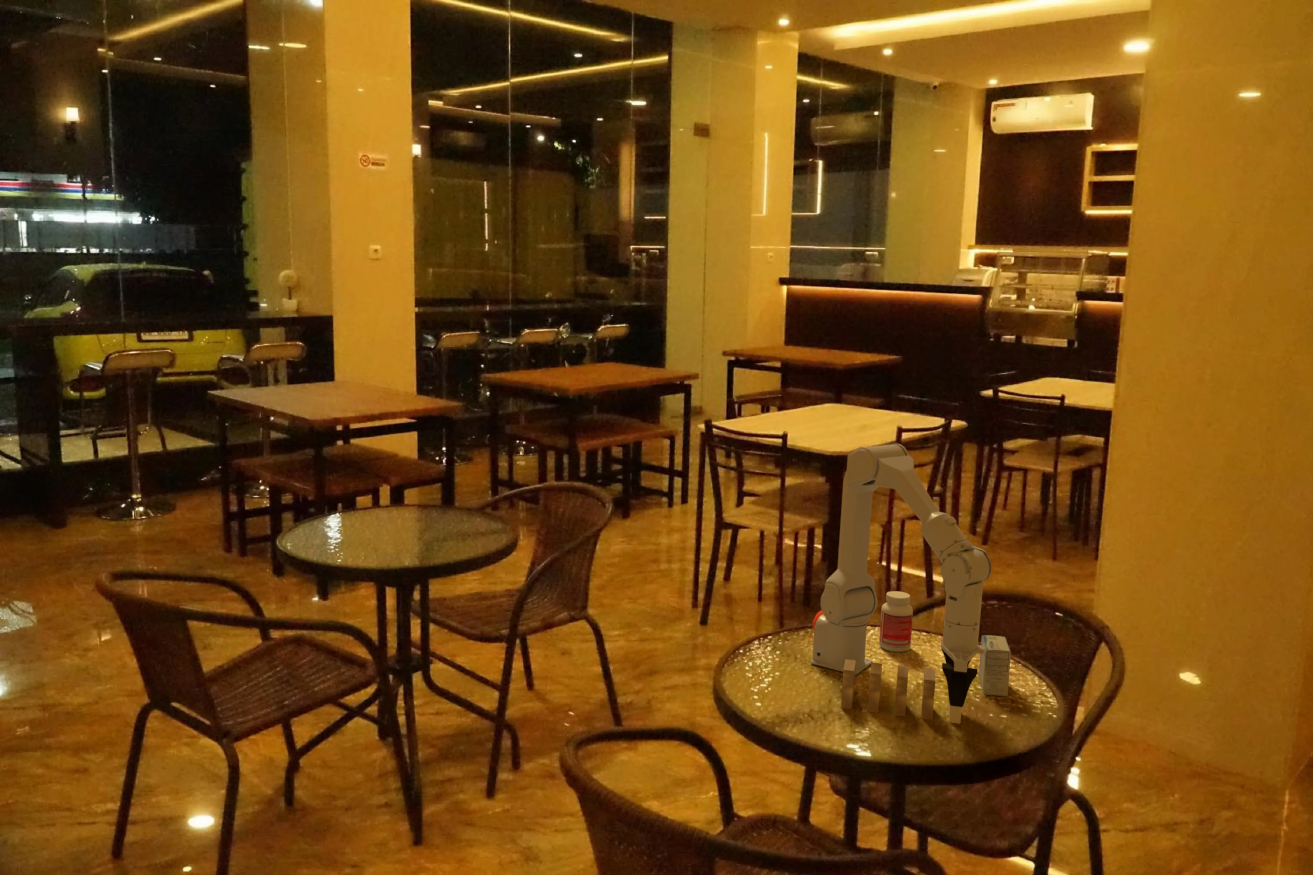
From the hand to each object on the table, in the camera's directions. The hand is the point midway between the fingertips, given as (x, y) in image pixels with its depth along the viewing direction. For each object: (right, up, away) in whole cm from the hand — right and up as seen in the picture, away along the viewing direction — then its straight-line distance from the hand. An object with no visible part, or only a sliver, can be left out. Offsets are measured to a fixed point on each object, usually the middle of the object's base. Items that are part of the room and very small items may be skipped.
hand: (955, 696), depth 177 cm
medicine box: (+11, -2, +14) cm, 17 cm away
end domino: (0, -4, +1) cm, 4 cm away
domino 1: (-18, -2, +5) cm, 18 cm away
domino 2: (-13, -3, +4) cm, 14 cm away
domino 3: (-9, -3, +3) cm, 10 cm away
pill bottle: (-3, +2, +32) cm, 32 cm away
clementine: (-16, +2, +35) cm, 38 cm away
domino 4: (-4, -3, +2) cm, 6 cm away
